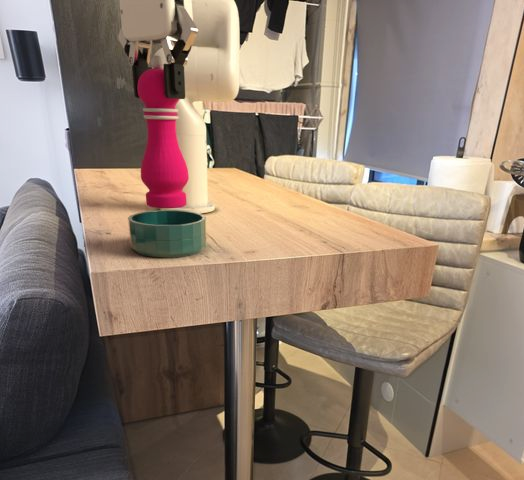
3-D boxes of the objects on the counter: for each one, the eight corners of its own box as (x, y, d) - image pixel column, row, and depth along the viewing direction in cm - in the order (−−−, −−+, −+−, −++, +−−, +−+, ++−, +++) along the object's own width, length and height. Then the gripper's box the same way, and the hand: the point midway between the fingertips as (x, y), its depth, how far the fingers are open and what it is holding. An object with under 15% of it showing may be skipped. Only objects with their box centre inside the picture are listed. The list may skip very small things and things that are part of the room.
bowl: (127, 241, 78) (124, 211, 76) (197, 237, 82) (196, 208, 80) (136, 261, 68) (132, 227, 66) (214, 255, 72) (214, 223, 70)
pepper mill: (169, 199, 76) (160, 59, 67) (199, 205, 72) (194, 57, 63) (133, 204, 71) (119, 53, 62) (163, 211, 67) (152, 50, 58)
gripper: (219, -71, 55) (221, 100, 63) (131, -47, 64) (143, 99, 72) (171, -92, 49) (180, 97, 58) (83, -62, 59) (101, 96, 67)
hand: (159, 97), depth 65 cm, fingers closed on pepper mill, 6 cm apart
